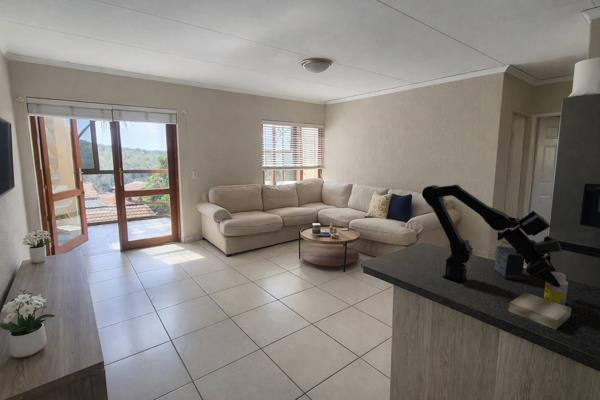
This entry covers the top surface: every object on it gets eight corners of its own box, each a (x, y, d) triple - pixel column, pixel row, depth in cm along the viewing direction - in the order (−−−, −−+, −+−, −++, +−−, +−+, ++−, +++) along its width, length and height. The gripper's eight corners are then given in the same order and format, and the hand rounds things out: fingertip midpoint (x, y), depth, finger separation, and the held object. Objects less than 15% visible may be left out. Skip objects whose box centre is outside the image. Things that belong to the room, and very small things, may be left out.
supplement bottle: (543, 297, 104) (547, 269, 102) (564, 302, 100) (569, 273, 99) (542, 303, 100) (547, 274, 98) (565, 308, 96) (569, 278, 95)
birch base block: (508, 311, 95) (509, 302, 94) (524, 300, 101) (525, 292, 101) (555, 329, 85) (557, 320, 84) (570, 317, 91) (571, 307, 91)
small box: (523, 280, 117) (526, 255, 115) (504, 279, 118) (507, 254, 117) (510, 270, 127) (513, 246, 126) (493, 269, 129) (495, 245, 127)
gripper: (544, 236, 92) (588, 279, 87) (544, 224, 106) (582, 261, 101) (510, 255, 98) (549, 296, 93) (515, 242, 113) (549, 277, 107)
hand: (558, 281), depth 99 cm, fingers open, 9 cm apart
